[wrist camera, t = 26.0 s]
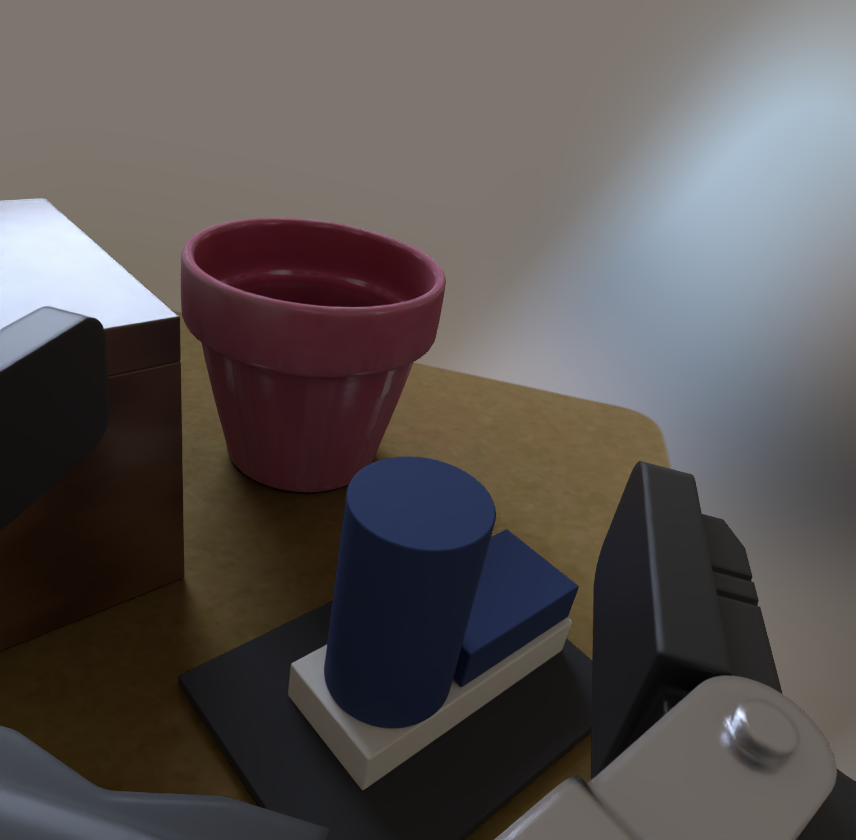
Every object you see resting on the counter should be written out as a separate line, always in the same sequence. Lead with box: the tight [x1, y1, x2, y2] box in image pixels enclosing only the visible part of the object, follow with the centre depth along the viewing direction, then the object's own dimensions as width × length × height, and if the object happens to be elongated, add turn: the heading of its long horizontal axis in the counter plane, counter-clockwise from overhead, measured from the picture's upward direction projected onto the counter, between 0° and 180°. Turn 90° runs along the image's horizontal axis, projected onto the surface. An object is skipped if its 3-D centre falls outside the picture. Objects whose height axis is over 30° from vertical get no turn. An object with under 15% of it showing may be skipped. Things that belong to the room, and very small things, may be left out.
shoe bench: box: [0, 198, 184, 651], centre depth 34 cm, size 10×15×14 cm, turn 41°
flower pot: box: [181, 218, 446, 492], centre depth 44 cm, size 14×14×13 cm
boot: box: [288, 457, 579, 790], centre depth 30 cm, size 12×5×11 cm, turn 131°
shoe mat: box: [178, 601, 593, 840], centre depth 32 cm, size 16×12×1 cm
